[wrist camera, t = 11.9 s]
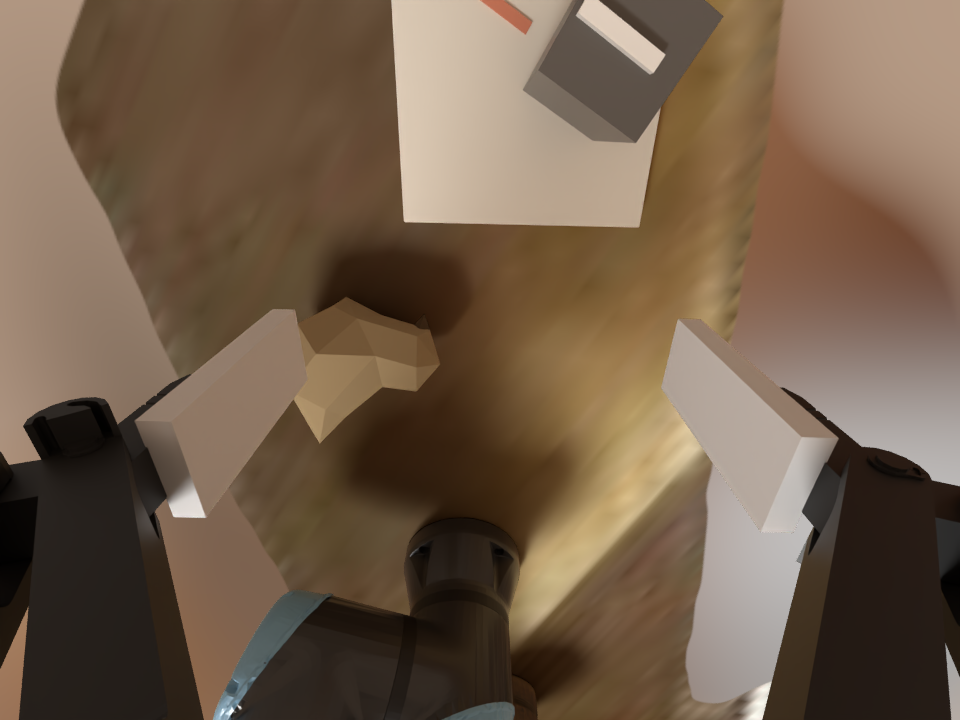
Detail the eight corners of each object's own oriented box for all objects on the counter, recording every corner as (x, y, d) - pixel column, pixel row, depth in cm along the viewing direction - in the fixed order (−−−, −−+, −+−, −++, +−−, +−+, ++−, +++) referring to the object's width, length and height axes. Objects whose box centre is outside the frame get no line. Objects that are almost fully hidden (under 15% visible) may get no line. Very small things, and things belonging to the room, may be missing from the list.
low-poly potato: (292, 370, 47) (357, 455, 45) (220, 361, 36) (302, 472, 34) (397, 277, 46) (467, 359, 45) (356, 240, 36) (446, 347, 34)
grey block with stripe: (649, 53, 32) (729, 13, 21) (592, 141, 34) (639, 143, 24) (575, -6, 30) (622, -81, 20) (522, 90, 33) (539, 68, 22)
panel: (632, 223, 39) (659, 239, 33) (407, 218, 39) (392, 233, 33) (671, -5, 32) (716, -39, 26) (395, -11, 32) (373, -46, 26)
